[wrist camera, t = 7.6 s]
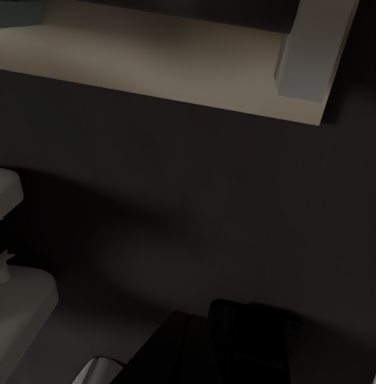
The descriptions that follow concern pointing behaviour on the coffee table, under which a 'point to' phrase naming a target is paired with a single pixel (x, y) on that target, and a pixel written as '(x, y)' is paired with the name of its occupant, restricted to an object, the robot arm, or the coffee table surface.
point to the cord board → (192, 50)
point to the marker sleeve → (20, 13)
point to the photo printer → (98, 371)
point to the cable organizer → (20, 291)
